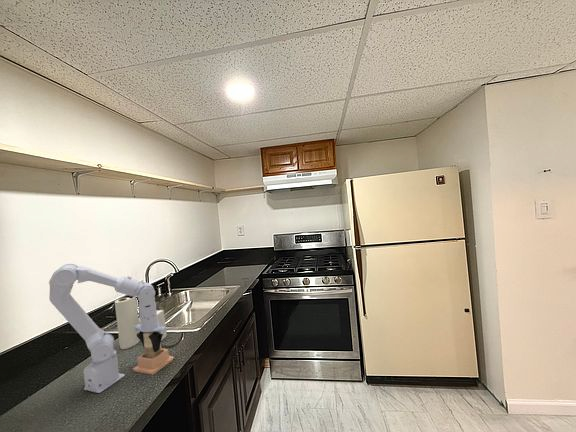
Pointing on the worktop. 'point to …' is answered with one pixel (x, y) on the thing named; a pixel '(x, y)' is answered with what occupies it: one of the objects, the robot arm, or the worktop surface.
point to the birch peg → (150, 346)
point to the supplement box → (161, 321)
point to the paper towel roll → (127, 322)
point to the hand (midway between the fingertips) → (152, 349)
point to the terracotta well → (153, 362)
